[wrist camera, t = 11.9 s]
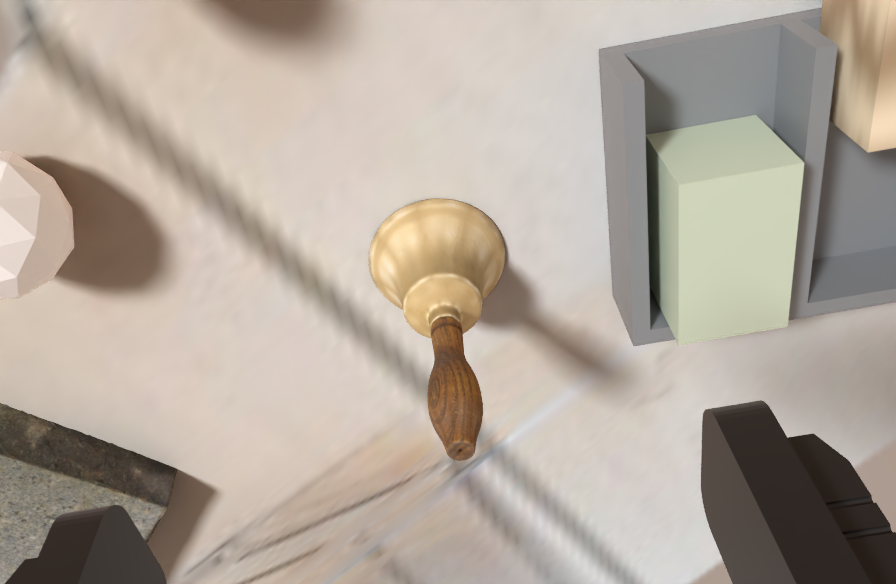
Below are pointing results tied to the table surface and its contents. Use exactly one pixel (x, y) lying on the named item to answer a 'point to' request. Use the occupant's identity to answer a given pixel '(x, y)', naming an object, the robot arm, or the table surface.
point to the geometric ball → (31, 227)
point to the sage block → (722, 227)
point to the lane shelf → (789, 116)
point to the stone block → (67, 483)
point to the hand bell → (442, 299)
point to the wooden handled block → (863, 70)
